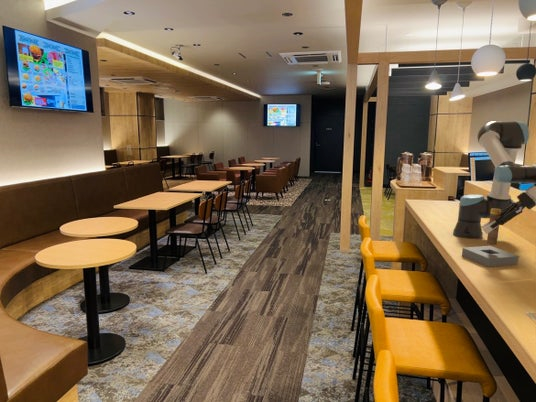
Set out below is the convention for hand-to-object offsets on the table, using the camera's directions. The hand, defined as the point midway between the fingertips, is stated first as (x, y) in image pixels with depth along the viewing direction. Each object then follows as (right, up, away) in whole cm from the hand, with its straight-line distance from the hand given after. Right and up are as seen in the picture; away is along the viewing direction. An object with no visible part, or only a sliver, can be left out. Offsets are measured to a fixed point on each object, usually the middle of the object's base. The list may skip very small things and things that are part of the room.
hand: (483, 230), depth 179 cm
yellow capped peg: (+3, -6, 0) cm, 7 cm away
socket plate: (+3, -14, +2) cm, 15 cm away
